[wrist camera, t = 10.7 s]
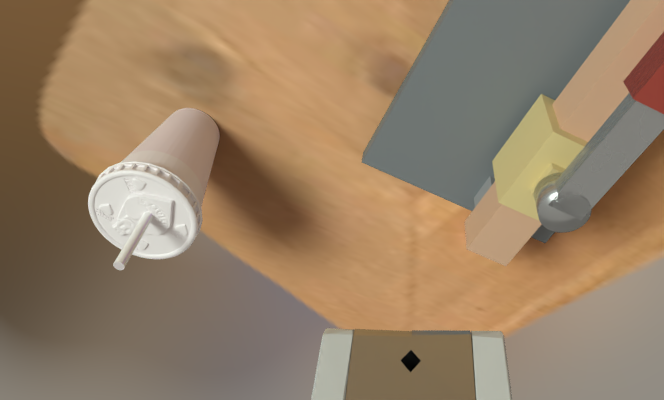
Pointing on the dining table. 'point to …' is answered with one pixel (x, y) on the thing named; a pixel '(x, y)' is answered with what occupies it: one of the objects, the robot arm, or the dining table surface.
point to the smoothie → (157, 189)
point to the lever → (607, 149)
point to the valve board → (509, 105)
